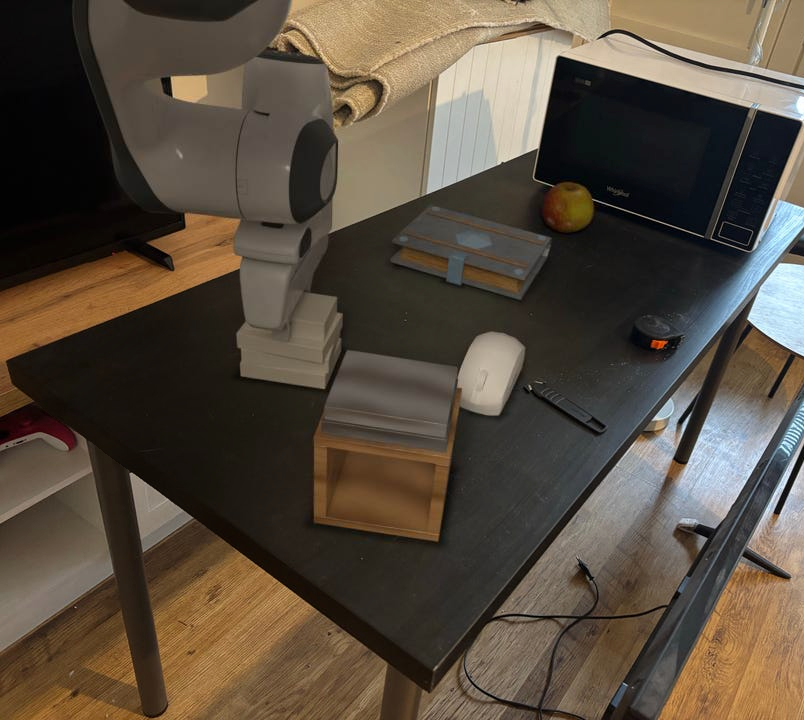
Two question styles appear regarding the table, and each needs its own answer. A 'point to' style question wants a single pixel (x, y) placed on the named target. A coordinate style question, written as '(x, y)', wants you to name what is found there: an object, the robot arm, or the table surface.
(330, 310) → the beige flat block
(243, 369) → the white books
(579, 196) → the fruit
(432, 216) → the book
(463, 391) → the computer mouse
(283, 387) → the table surface
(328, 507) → the oak stand
